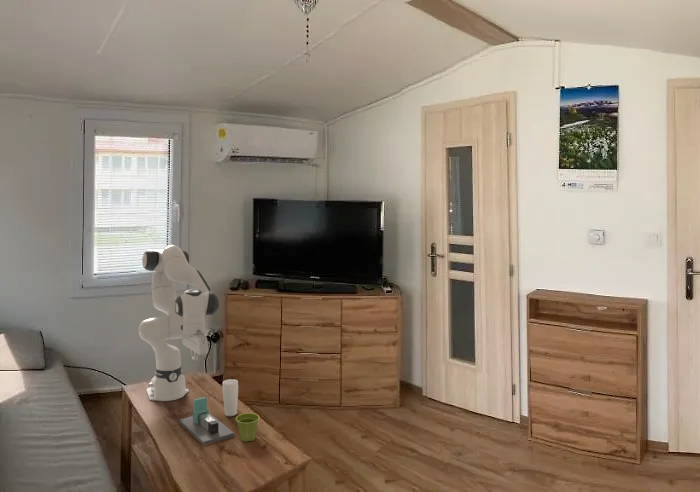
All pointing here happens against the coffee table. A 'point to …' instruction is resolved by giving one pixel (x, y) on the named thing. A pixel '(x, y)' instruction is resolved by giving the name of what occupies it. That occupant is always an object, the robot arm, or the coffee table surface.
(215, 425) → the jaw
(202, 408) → the collar
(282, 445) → the coffee table surface
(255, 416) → the plant pot
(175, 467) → the coffee table surface
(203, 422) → the jaw
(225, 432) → the plate
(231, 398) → the white cup
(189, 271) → the robot arm
